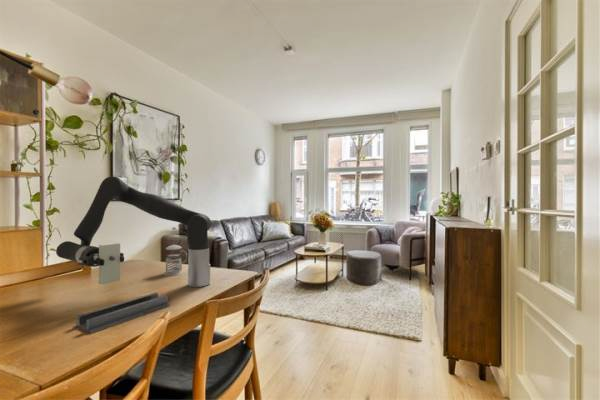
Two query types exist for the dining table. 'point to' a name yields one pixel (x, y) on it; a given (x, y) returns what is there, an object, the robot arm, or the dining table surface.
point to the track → (120, 312)
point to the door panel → (109, 263)
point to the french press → (172, 258)
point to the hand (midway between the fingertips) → (113, 261)
